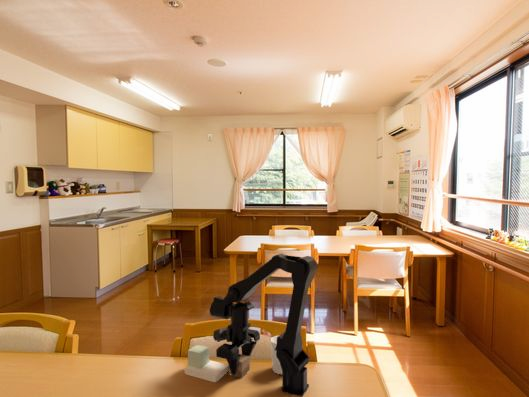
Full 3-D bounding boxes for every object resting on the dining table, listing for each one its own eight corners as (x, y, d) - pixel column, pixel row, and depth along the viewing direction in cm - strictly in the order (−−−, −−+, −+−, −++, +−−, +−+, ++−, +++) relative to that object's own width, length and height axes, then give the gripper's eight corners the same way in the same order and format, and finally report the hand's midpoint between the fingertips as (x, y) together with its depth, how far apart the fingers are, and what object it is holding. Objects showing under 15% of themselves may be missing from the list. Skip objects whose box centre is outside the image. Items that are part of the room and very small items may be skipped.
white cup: (294, 365, 113) (294, 335, 113) (294, 376, 105) (294, 345, 105) (271, 364, 113) (271, 334, 114) (269, 375, 106) (269, 344, 106)
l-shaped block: (229, 371, 108) (229, 349, 109) (215, 382, 101) (215, 359, 101) (199, 363, 114) (200, 343, 114) (184, 373, 106) (184, 352, 107)
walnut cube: (249, 371, 108) (249, 356, 109) (242, 378, 104) (242, 362, 104) (236, 368, 111) (236, 353, 111) (228, 374, 106) (228, 359, 106)
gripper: (233, 310, 120) (233, 353, 119) (202, 326, 103) (201, 377, 102) (260, 314, 115) (260, 359, 114) (232, 332, 98) (232, 385, 98)
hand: (239, 369), depth 107 cm, fingers open, 7 cm apart
